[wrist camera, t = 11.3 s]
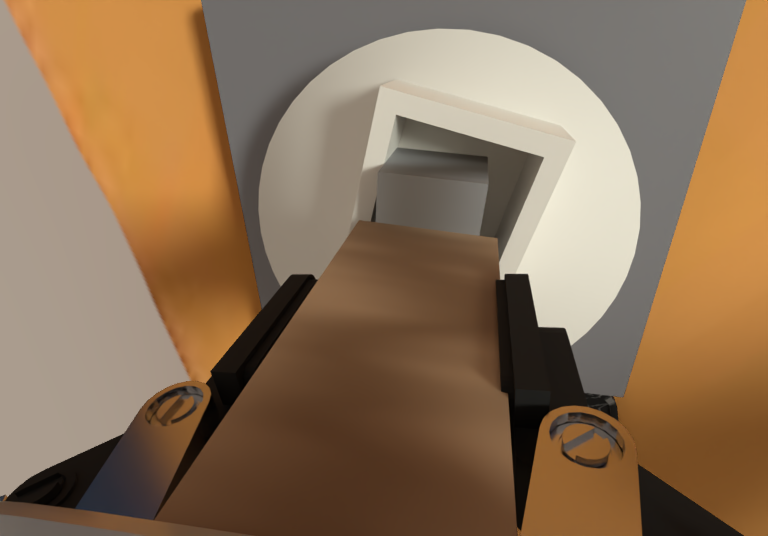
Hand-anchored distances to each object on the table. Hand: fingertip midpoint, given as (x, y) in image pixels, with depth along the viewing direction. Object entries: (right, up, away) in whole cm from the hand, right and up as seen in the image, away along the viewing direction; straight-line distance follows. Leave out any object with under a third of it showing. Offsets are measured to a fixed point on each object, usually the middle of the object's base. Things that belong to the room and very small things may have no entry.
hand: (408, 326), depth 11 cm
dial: (+2, +3, +7) cm, 8 cm away
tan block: (+1, +2, +5) cm, 5 cm away
